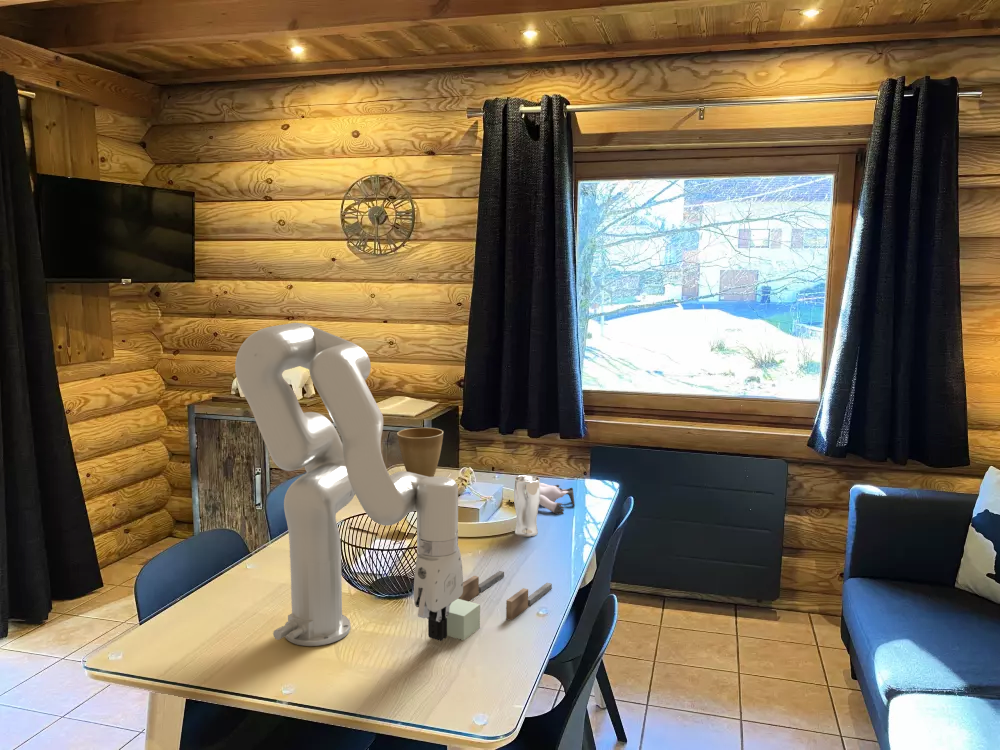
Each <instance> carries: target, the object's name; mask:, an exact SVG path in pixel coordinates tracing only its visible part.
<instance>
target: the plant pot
mask: <svg viewBox="0 0 1000 750" xmlns="http://www.w3.org/2000/svg"><path fill="white" fill-rule="evenodd" d="M396 433H397V435H396V436H397V441H398V445H399V450H400V456H401V458H402V462H403V465H404V469H405V471H406V472H412V473H415V474H419V475H423V476H428V477H434V476H435V474H436V472H437V469H438V465H439V460H440V458H441V457H440V456H441V451H442V446H443V439H444V430H442V429H439V428H435V427H412V428H406V429H401V430H399V431H398V432H396Z"/></svg>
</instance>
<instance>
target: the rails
mask: <svg viewBox="0 0 1000 750" xmlns="http://www.w3.org/2000/svg"><path fill="white" fill-rule="evenodd" d="M504 577H505V571H501V570H498V571H497V572H496V573H494V574H492V575H491V576H489V577H488V578H487V579H485V580H483V581H482V582H480V583H479V593H483V592H484V591H485V590H487V589H488V588H490V587H491V586H493V585H494V584H495V583H497V582H499V581H500V580H501V579H504ZM550 589H551V590H552V589H553V585H552V583H550V582H546V583H545V584H543V585H541V587H539V588H538V589H536V590H535V591H534V592H533V593H531V594H529V595H528V606H529V605H530V606H532V605H533V604H534V603H536V602H537V601H538V600H540V599H541V598H542V597H543V596H544V595H547V593H549V592H550V591H551V590H550ZM549 590H550V591H549Z"/></svg>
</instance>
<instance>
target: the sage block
mask: <svg viewBox="0 0 1000 750" xmlns="http://www.w3.org/2000/svg"><path fill="white" fill-rule="evenodd" d="M446 618H447V637H450V638H454V639H457V638H458V640H460V639H461V641H465V640H466V639H468V638H467V637H470V636H472V635H473V634H474V633H476V632H477V631H478V630H479V629H480V628H481V604H480V603H476V602H472V601H470V600H469V601H465V600H461V599H457V600H455V601H454V602H452V603H451V604H450V608H449V615H448V617H446Z"/></svg>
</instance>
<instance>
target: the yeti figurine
mask: <svg viewBox="0 0 1000 750" xmlns="http://www.w3.org/2000/svg"><path fill="white" fill-rule="evenodd" d="M565 495H567V496H569V499H570V501H571V504H572V506H573V508H575V507H576V506H575V505H576V504H575V495H574V489H573V487H569V488H561V487H560V484H553V485H550V484H546V483H543V482H540V503H539V506H540V505H541V506H542V507H544V508H545V509H547V510H549V511H550V512H552V513H554V514H556V515H564V512H565V509H564V506H563V502H556V500H559V499H560V498H563V497H564V496H565Z"/></svg>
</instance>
